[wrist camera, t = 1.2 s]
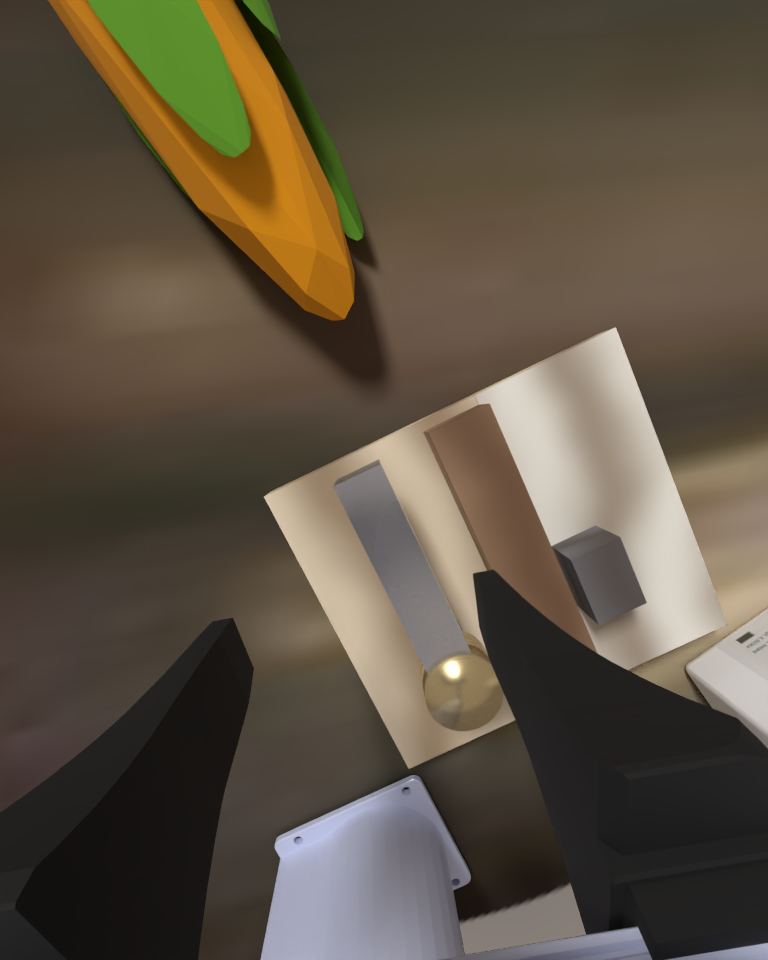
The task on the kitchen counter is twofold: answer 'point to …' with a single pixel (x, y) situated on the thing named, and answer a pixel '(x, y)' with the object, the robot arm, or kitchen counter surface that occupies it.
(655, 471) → the brown-striped cream panel
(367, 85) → the kitchen counter surface
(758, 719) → the container
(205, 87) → the corn
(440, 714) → the bar
